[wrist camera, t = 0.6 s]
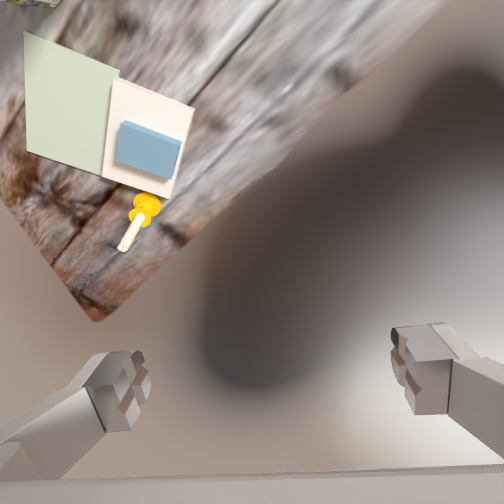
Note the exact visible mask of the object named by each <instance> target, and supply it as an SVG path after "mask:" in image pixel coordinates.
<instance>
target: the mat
mask: <svg viewBox="0 0 504 504" xmlns="http://www.w3.org/2000/svg"><path fill="white" fill-rule="evenodd" d="M23 43H24V75H25V107H26V139H27V151H29V152H32V153H35V154H37V155H40V156H43V157H46V158H49V159H52V160H55V161H58V162H61V163H64V164H67V165H70V166H73V167H76V168H79V169H82V170H85V171H88V172H91V173H94V174H97V175H100V176H102V171H103V163H104V154H105V145H106V137H107V128H108V120H109V111H110V103H111V94H112V86H113V79H116V78H119V73H120V70H118V69H115V68H113V67H111V66H108V65H106V64H103V63H101V62H99V61H96V60H94V59H92V58H89V57H87V56H84V55H82V54H80V53H77V52H75V51H72V50H70V49H68V48H65V47H63V46H60V45H58V44H56V43H53V42H51V41H49V40H46V39H44V38H41V37H39V36H37V35H34V34H32V33H29V32H27V31H23Z"/></svg>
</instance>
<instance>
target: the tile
mask: <svg viewBox="0 0 504 504" xmlns="http://www.w3.org/2000/svg"><path fill="white" fill-rule="evenodd" d="M181 143H182V141H179V140H177V139H174V138H172V137H169V136H166V135H164V134H161V133H159V132H156V131H153V130H151V129H148V128H146V127H143V126H140V125H138V124H135V123H132V122H130V121H127V120H125V121H124V122H122V123H121V124H120V131H119V138H118V145H117V152H116V159H115V160H116V161H119V162H121V163H124V164H127V165H130V166H133V167H136V168H139V169H141V170H144V171H147V172H150V173H153V174H156V175H159V176H162V177H164V178H167V179H170V180H171V178H172V176H173V174H174V170H175V166H176V162H177V158H178V154H179V150H180V147H181Z"/></svg>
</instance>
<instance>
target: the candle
mask: <svg viewBox="0 0 504 504" xmlns="http://www.w3.org/2000/svg"><path fill="white" fill-rule="evenodd" d="M133 206H134V209H132V210H131V211H130V212H129V219H130V221H131V224H130V226H129V227H128V229H127V231H126V233H125V234H124V236H123V238H122V240H121V241H120V243H119V246H118V250H119V251H122V252H124V251H127V250H128V248H129V247H130V245H131V243H132V242H133V240H134V238H135V236H136V234H137V232H138V231H139V229H140V227H145V226H147V225H148V224H149V223H150V221H151V217H153V216H155V215H157V214H158V213H159V211H160V209H161V203H160V201H159V199H158V198H157V197H156V196H155V195H153V194H152V193H148V192H141V193H139V194H137V195H136V196H135V198H134V199H133Z"/></svg>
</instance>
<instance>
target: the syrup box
mask: <svg viewBox="0 0 504 504" xmlns="http://www.w3.org/2000/svg"><path fill="white" fill-rule="evenodd" d="M0 1H6V2H12V3H18V4H24V5H31V6H37V7H43V8H49V9H54V8H55V7H56V6H57V4H58V3H59V2H60V1H61V0H0Z"/></svg>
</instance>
